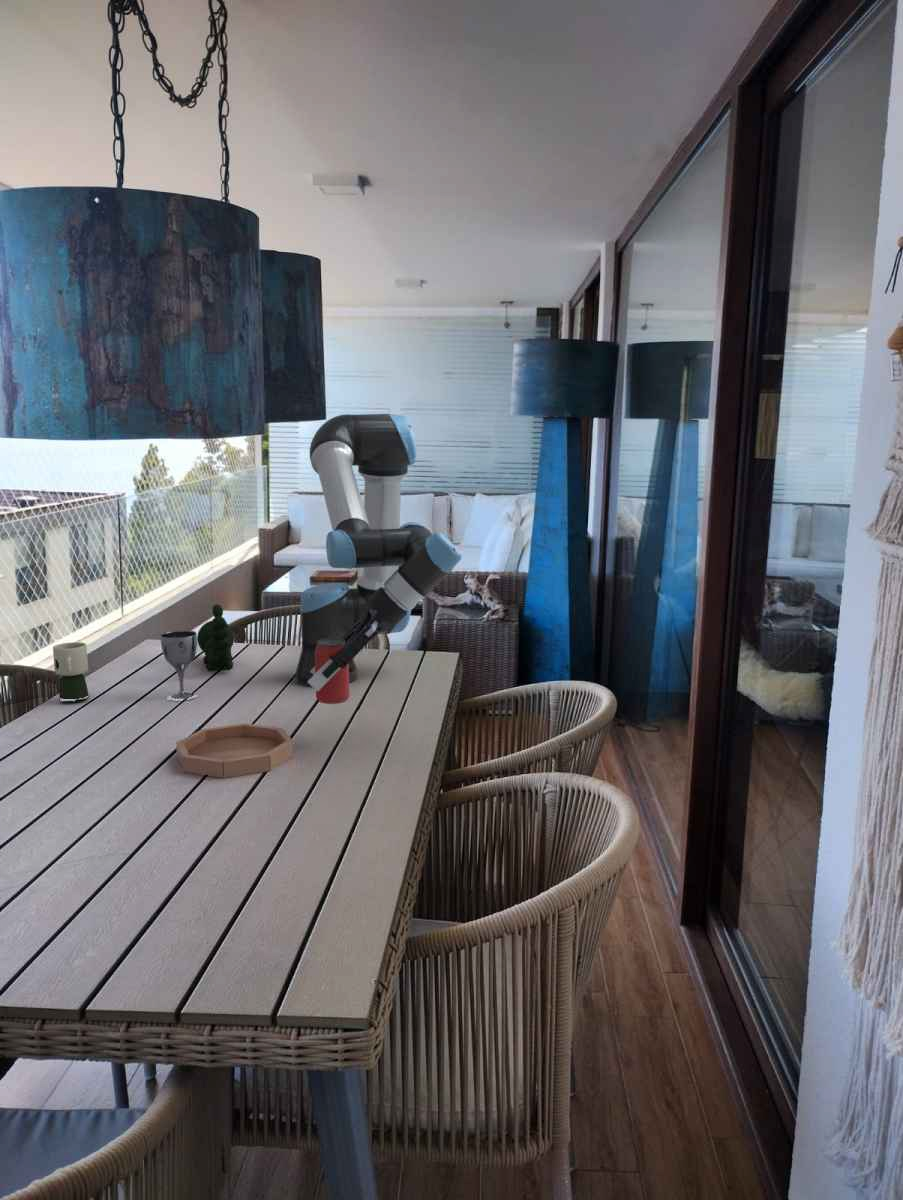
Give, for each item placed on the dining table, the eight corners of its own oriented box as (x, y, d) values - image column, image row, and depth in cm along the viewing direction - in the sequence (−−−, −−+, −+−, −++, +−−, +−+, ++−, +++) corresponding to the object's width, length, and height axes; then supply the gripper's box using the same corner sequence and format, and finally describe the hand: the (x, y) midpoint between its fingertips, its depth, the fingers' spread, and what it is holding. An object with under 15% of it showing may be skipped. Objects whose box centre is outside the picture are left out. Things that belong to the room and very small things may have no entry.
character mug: (60, 695, 222) (56, 641, 219) (93, 693, 224) (88, 639, 221) (54, 709, 212) (49, 652, 209) (88, 706, 213) (83, 649, 211)
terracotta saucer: (172, 747, 186) (171, 733, 185) (275, 733, 194) (274, 719, 194) (189, 783, 168) (188, 767, 167) (302, 766, 176) (301, 750, 175)
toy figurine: (241, 682, 239) (232, 650, 262) (238, 609, 234) (229, 584, 257) (202, 685, 236) (196, 653, 259) (198, 612, 231) (193, 586, 254)
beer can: (344, 705, 185) (342, 646, 183) (311, 704, 186) (309, 644, 184) (353, 695, 191) (352, 638, 189) (322, 694, 192) (320, 636, 190)
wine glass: (199, 700, 217) (196, 636, 214) (163, 703, 215) (159, 638, 213) (200, 691, 225) (196, 629, 222) (165, 693, 223) (161, 631, 220)
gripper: (410, 623, 177) (325, 709, 179) (407, 601, 196) (330, 679, 198) (381, 595, 175) (295, 682, 177) (381, 576, 194) (303, 655, 196)
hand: (314, 680), depth 188 cm, fingers closed on beer can, 6 cm apart
